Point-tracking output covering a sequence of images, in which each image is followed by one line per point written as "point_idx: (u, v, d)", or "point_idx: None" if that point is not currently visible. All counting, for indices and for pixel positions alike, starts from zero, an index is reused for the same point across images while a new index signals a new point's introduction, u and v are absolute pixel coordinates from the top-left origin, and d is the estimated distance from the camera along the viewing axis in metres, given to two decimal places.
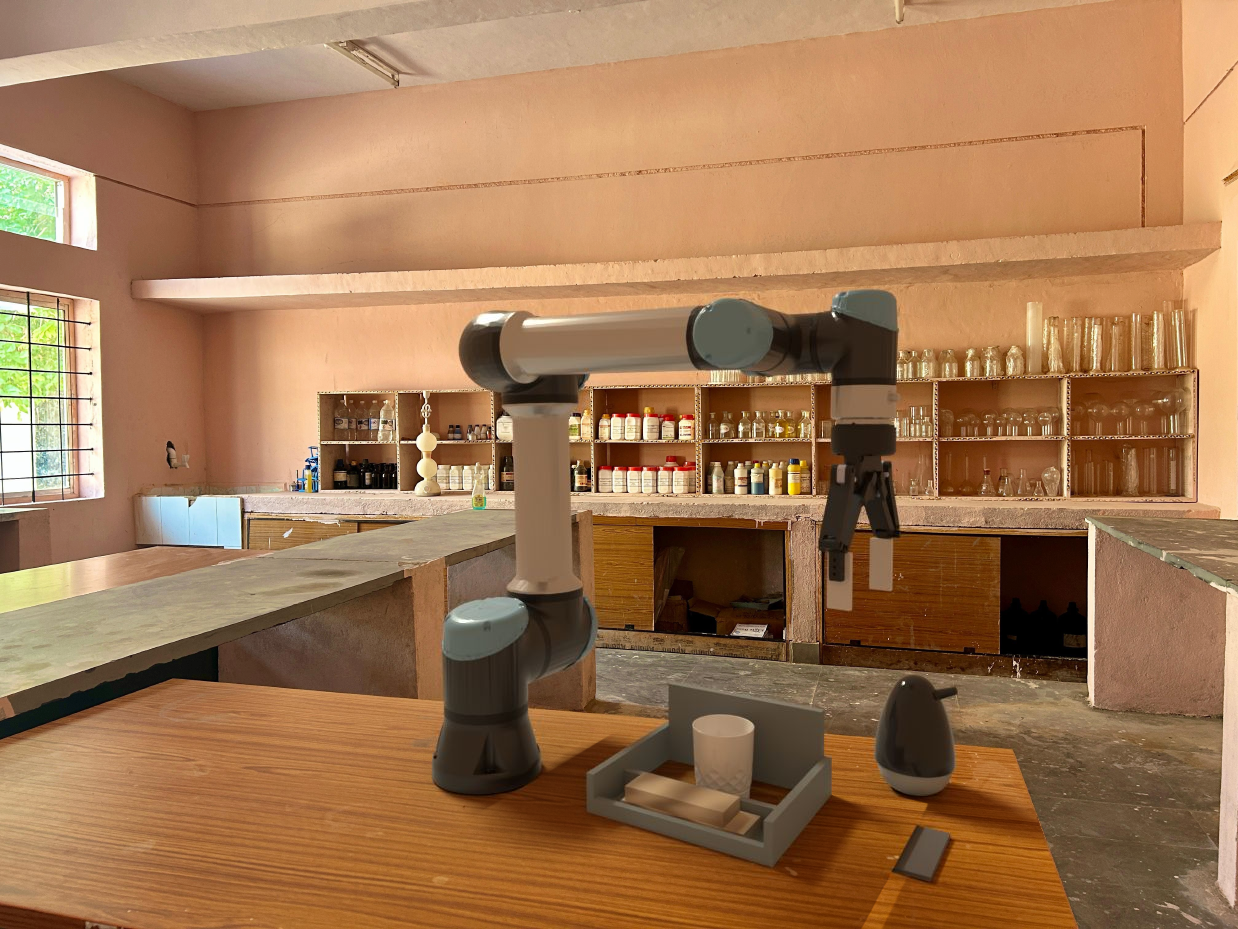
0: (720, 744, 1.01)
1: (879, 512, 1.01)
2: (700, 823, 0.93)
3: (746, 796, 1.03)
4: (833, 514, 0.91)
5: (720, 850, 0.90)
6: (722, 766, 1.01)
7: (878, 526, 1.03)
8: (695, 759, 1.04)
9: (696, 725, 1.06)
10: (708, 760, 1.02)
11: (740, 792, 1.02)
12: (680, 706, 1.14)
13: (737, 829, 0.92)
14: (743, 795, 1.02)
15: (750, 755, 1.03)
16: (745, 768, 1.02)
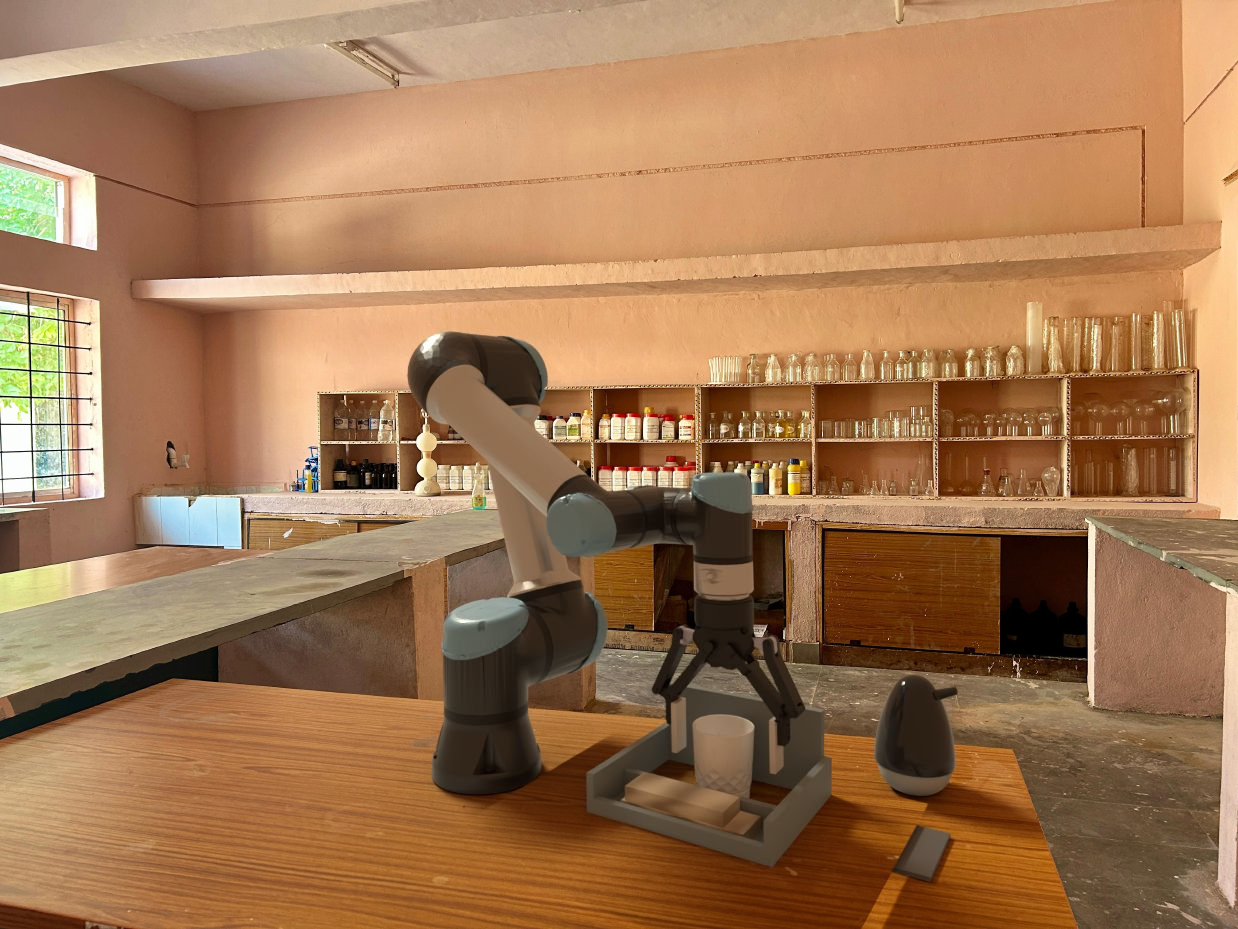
0: (720, 744, 1.01)
1: None
2: (700, 823, 0.93)
3: (746, 796, 1.03)
4: None
5: (720, 850, 0.90)
6: (722, 766, 1.01)
7: None
8: (695, 759, 1.04)
9: (696, 725, 1.06)
10: (708, 760, 1.02)
11: (740, 792, 1.02)
12: None
13: (737, 829, 0.92)
14: (743, 795, 1.02)
15: (750, 755, 1.03)
16: (745, 768, 1.02)
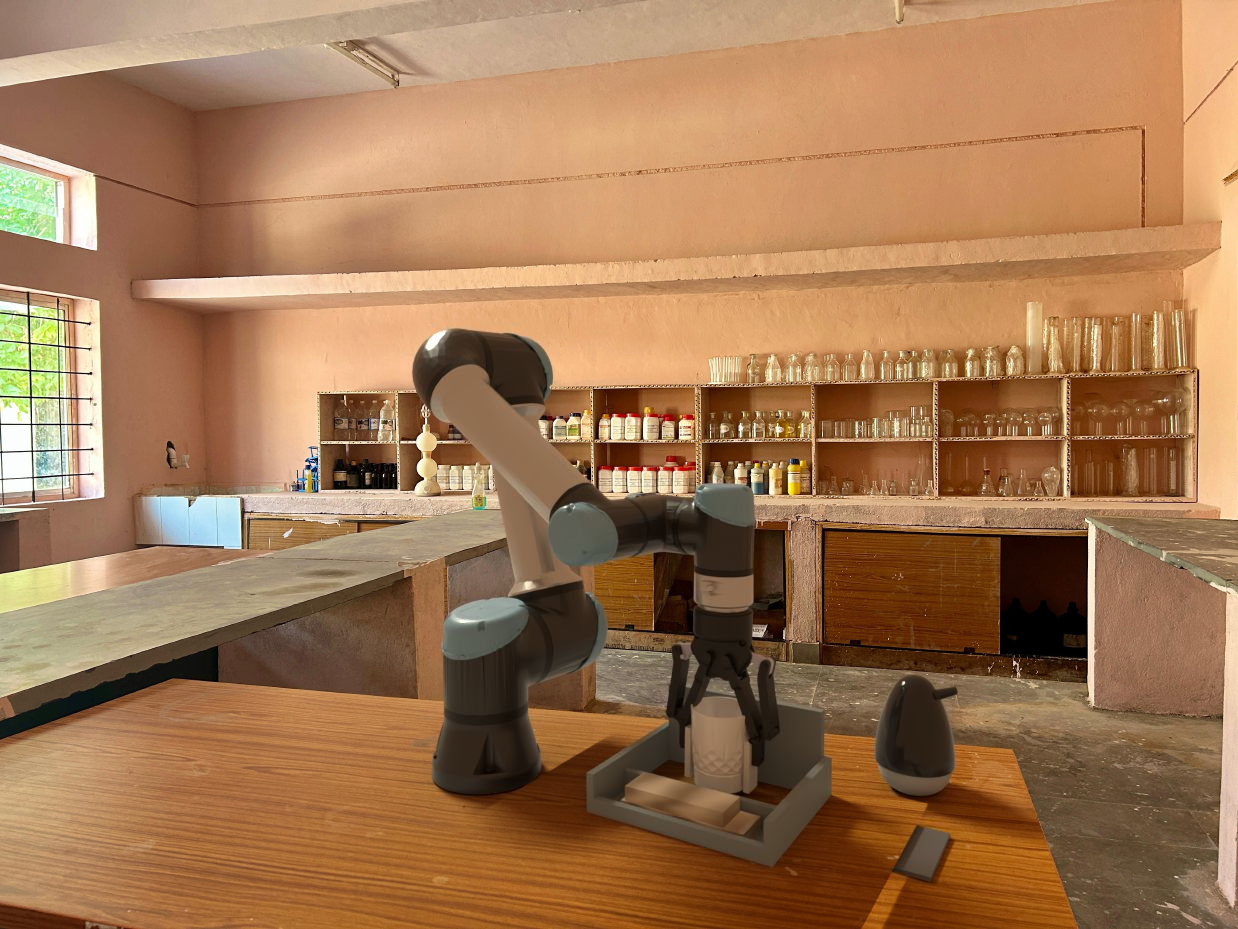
0: (718, 725, 1.01)
1: None
2: (700, 823, 0.93)
3: None
4: None
5: (720, 850, 0.90)
6: (720, 747, 1.01)
7: None
8: (693, 740, 1.04)
9: None
10: (706, 741, 1.02)
11: (737, 773, 1.02)
12: None
13: (737, 829, 0.92)
14: (740, 776, 1.02)
15: (748, 737, 1.03)
16: (743, 750, 1.02)
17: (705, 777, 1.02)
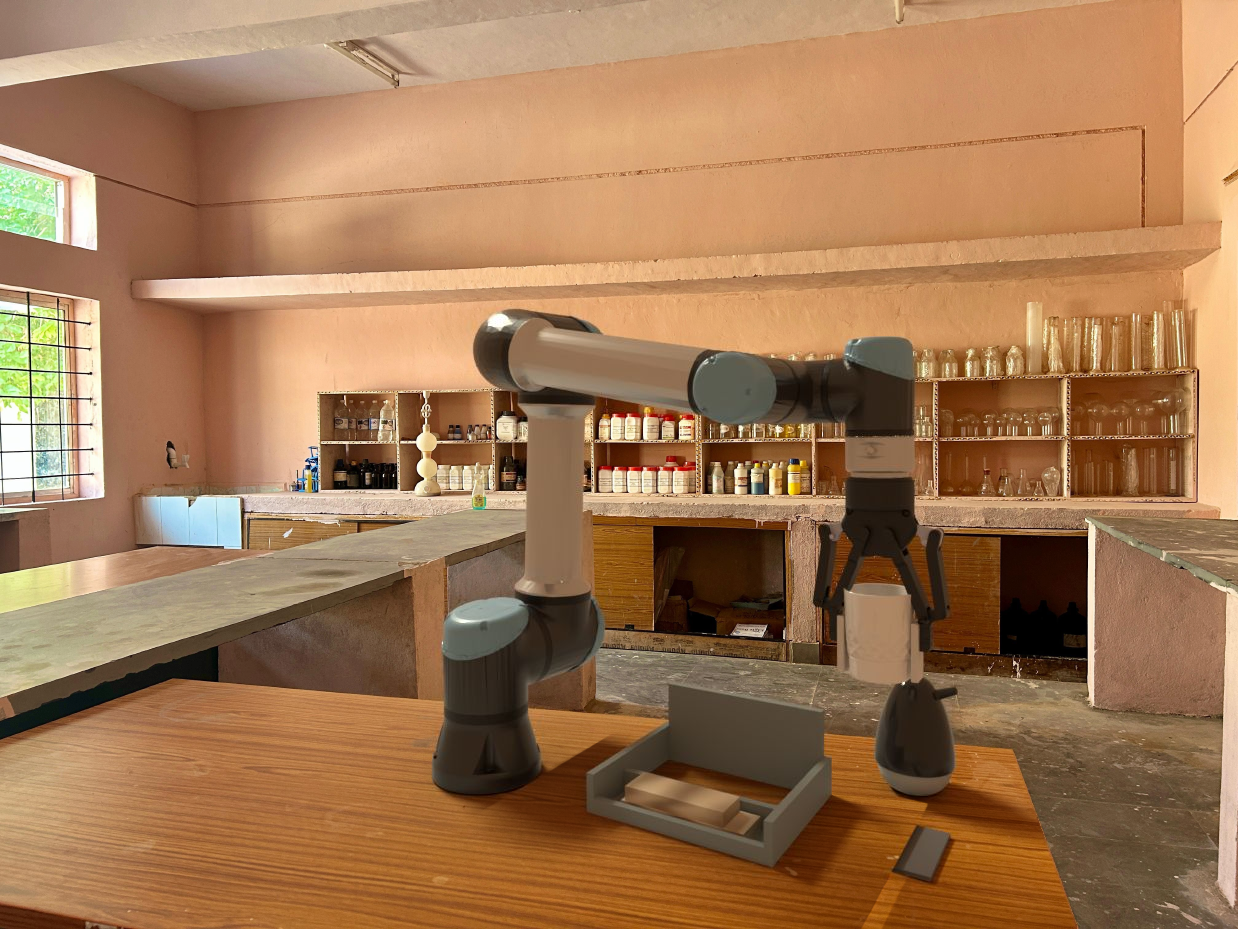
0: (882, 605, 0.89)
1: None
2: (700, 823, 0.93)
3: (909, 666, 0.91)
4: None
5: (720, 850, 0.90)
6: (884, 630, 0.90)
7: None
8: (849, 627, 0.92)
9: None
10: (867, 624, 0.90)
11: (903, 660, 0.90)
12: (680, 706, 1.14)
13: (737, 829, 0.92)
14: (906, 664, 0.91)
15: (913, 620, 0.91)
16: (909, 633, 0.90)
17: (867, 666, 0.91)
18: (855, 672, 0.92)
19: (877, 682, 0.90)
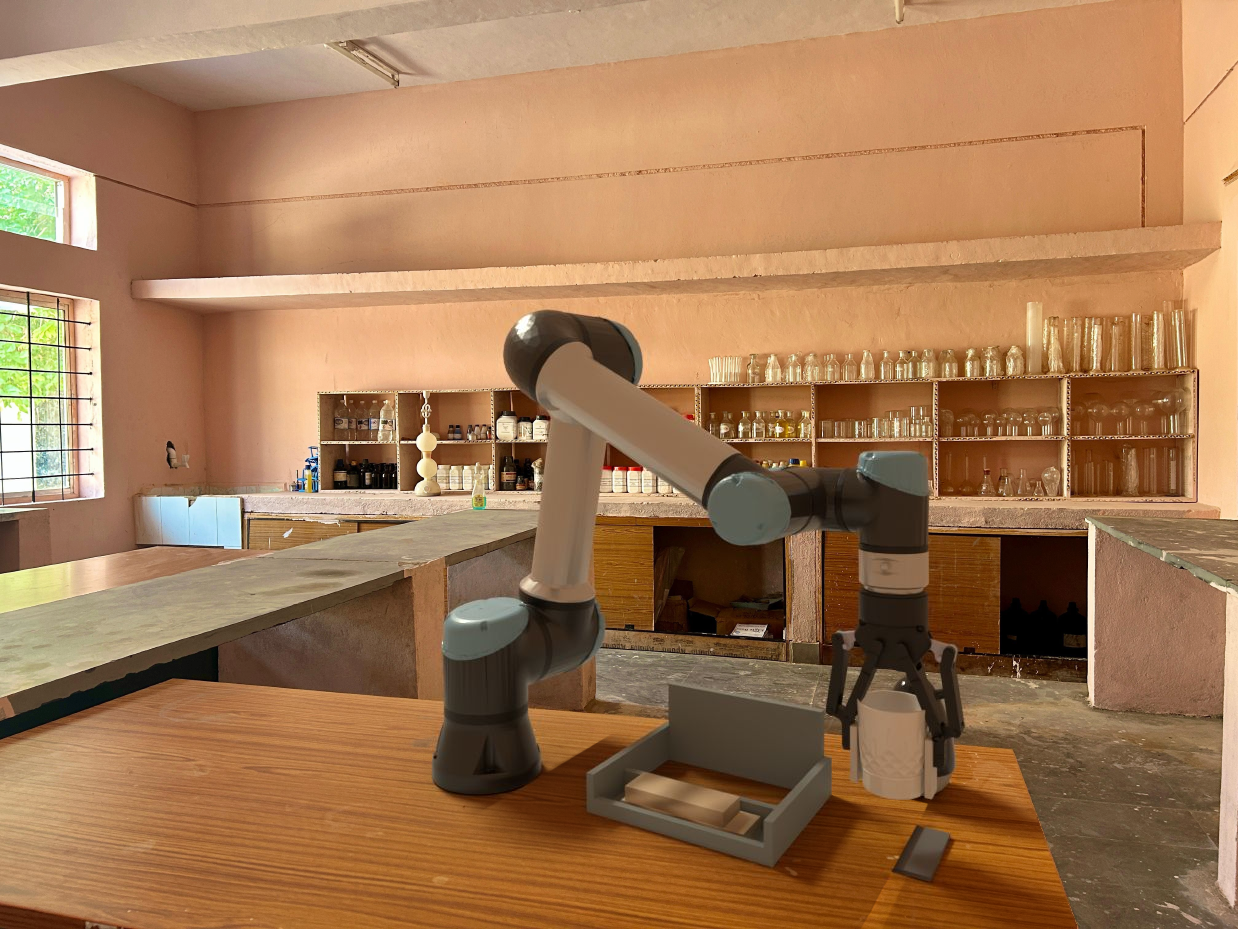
0: (896, 722, 0.89)
1: None
2: (700, 823, 0.93)
3: (922, 781, 0.91)
4: None
5: (720, 850, 0.90)
6: (898, 746, 0.89)
7: None
8: (863, 739, 0.92)
9: None
10: (881, 740, 0.90)
11: (917, 775, 0.90)
12: (680, 706, 1.14)
13: (737, 829, 0.92)
14: (920, 779, 0.91)
15: (927, 734, 0.91)
16: (923, 749, 0.90)
17: (881, 781, 0.91)
18: (869, 785, 0.92)
19: (891, 797, 0.90)
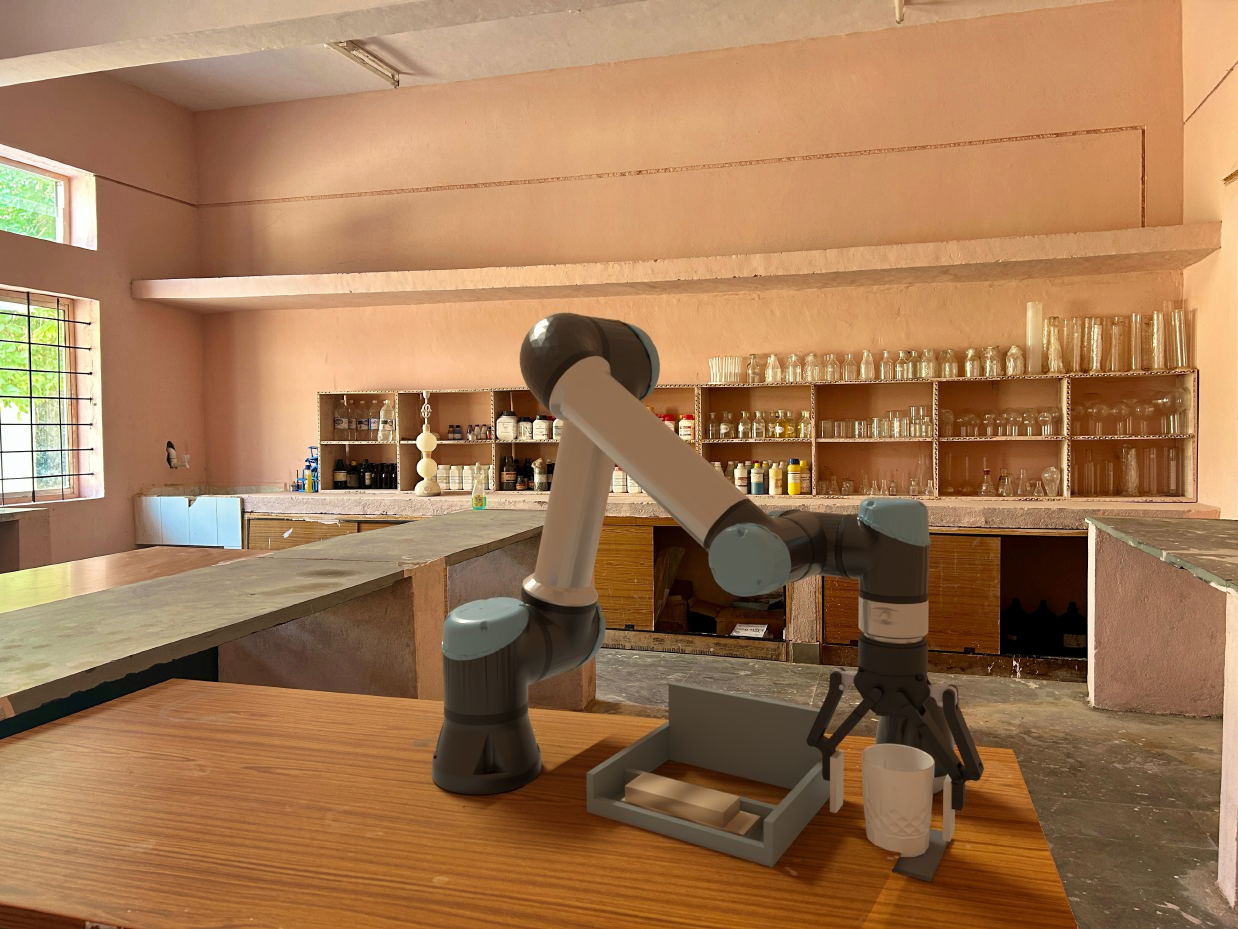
0: (902, 780, 0.89)
1: None
2: (700, 823, 0.93)
3: (927, 837, 0.91)
4: None
5: (720, 850, 0.90)
6: (904, 805, 0.89)
7: None
8: (867, 796, 0.92)
9: (864, 757, 0.94)
10: (886, 798, 0.90)
11: (922, 833, 0.90)
12: (680, 706, 1.14)
13: (737, 829, 0.92)
14: (924, 836, 0.91)
15: (932, 791, 0.91)
16: (928, 806, 0.90)
17: (886, 838, 0.91)
18: (873, 842, 0.92)
19: None
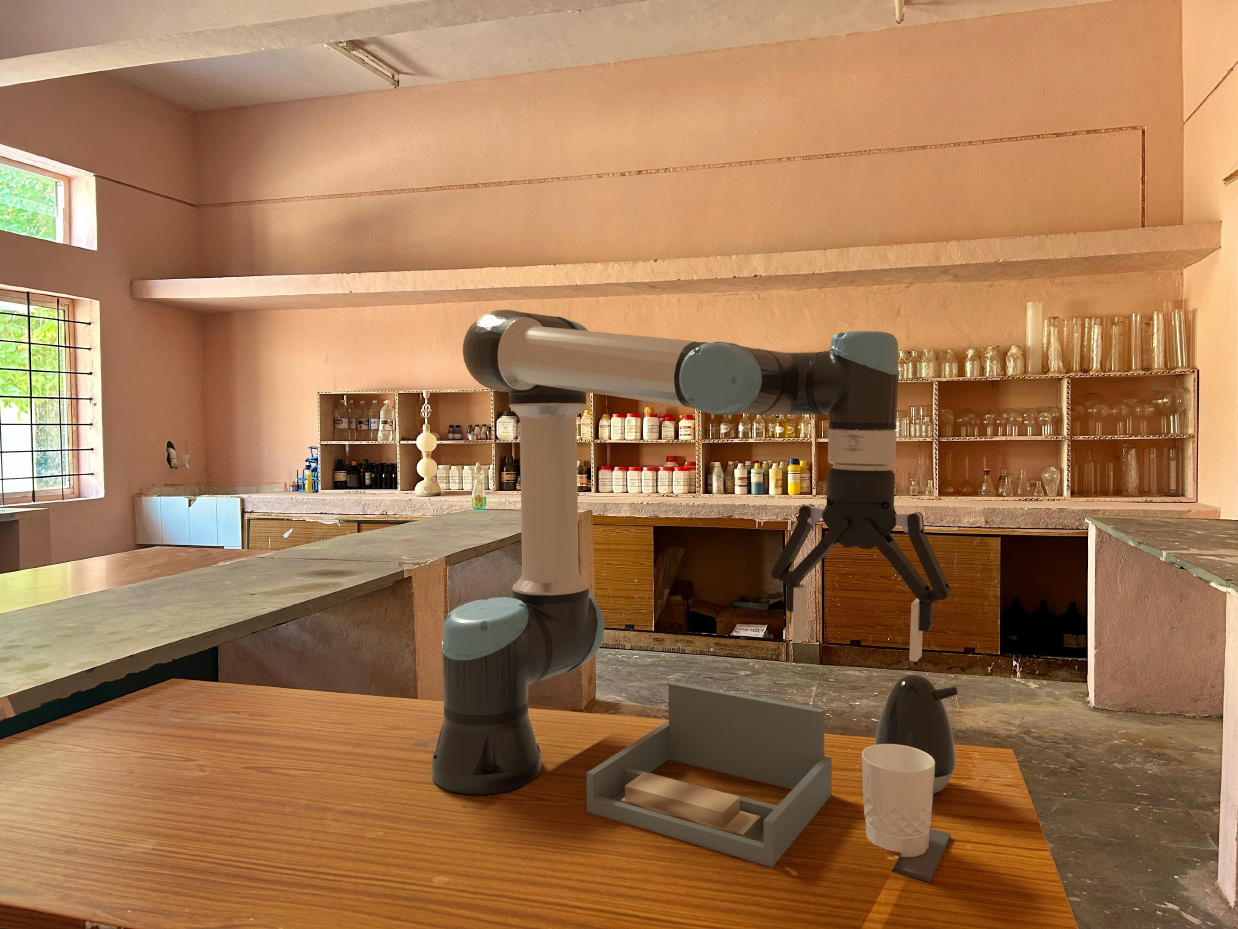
0: (902, 780, 0.89)
1: None
2: (700, 823, 0.93)
3: (927, 838, 0.91)
4: None
5: (720, 850, 0.90)
6: (904, 805, 0.89)
7: None
8: (868, 796, 0.92)
9: (864, 757, 0.94)
10: (887, 798, 0.90)
11: (922, 833, 0.90)
12: (680, 706, 1.14)
13: (737, 829, 0.92)
14: (924, 837, 0.91)
15: (932, 791, 0.91)
16: (928, 806, 0.90)
17: (886, 838, 0.91)
18: (873, 842, 0.92)
19: None
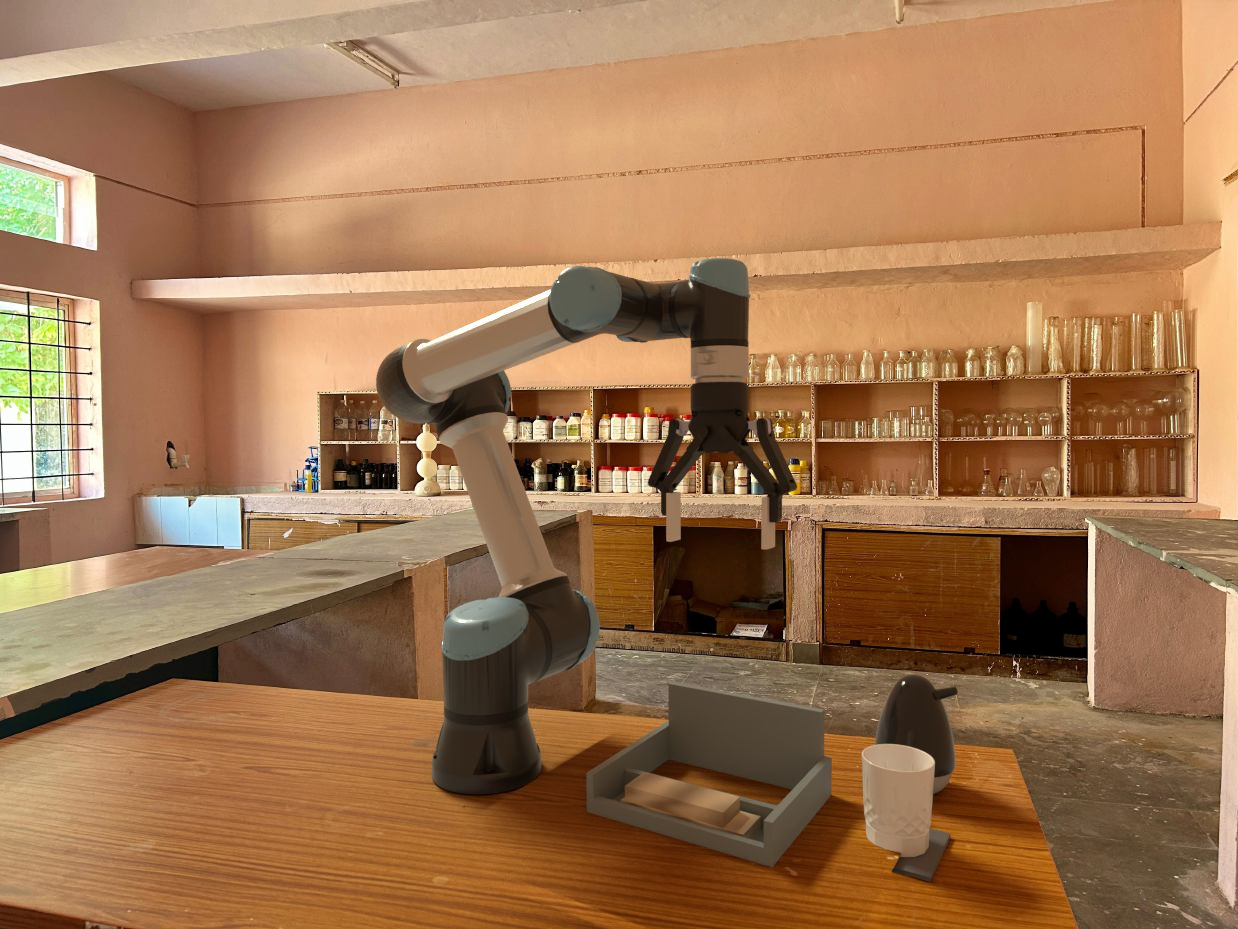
0: (902, 780, 0.89)
1: None
2: (700, 823, 0.93)
3: (927, 838, 0.91)
4: None
5: (720, 850, 0.90)
6: (904, 805, 0.89)
7: None
8: (868, 796, 0.92)
9: (864, 757, 0.94)
10: (887, 798, 0.90)
11: (922, 833, 0.90)
12: (680, 706, 1.14)
13: (737, 829, 0.92)
14: (924, 837, 0.91)
15: (932, 791, 0.91)
16: (928, 806, 0.90)
17: (886, 838, 0.91)
18: (873, 842, 0.92)
19: None
